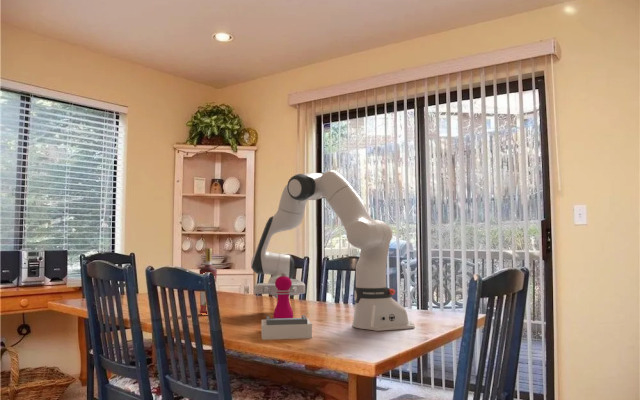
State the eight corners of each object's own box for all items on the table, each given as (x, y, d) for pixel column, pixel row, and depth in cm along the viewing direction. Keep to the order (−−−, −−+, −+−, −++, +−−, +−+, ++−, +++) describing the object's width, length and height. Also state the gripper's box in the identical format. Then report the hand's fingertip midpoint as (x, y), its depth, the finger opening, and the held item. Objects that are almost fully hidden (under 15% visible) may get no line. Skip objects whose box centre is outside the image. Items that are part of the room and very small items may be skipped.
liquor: (217, 313, 206) (218, 248, 209) (215, 315, 199) (216, 248, 201) (199, 313, 205) (200, 248, 208) (197, 316, 198) (198, 248, 201)
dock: (307, 329, 167) (307, 312, 168) (312, 338, 153) (311, 319, 154) (261, 331, 165) (261, 313, 165) (262, 339, 151) (262, 320, 152)
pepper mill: (296, 326, 174) (296, 271, 175) (288, 330, 167) (288, 272, 169) (278, 325, 176) (278, 271, 178) (269, 329, 169) (270, 272, 171)
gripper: (254, 279, 197) (254, 282, 183) (303, 279, 200) (306, 282, 186) (253, 294, 197) (253, 299, 183) (302, 294, 199) (306, 298, 186)
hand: (281, 290), depth 185 cm, fingers open, 8 cm apart
